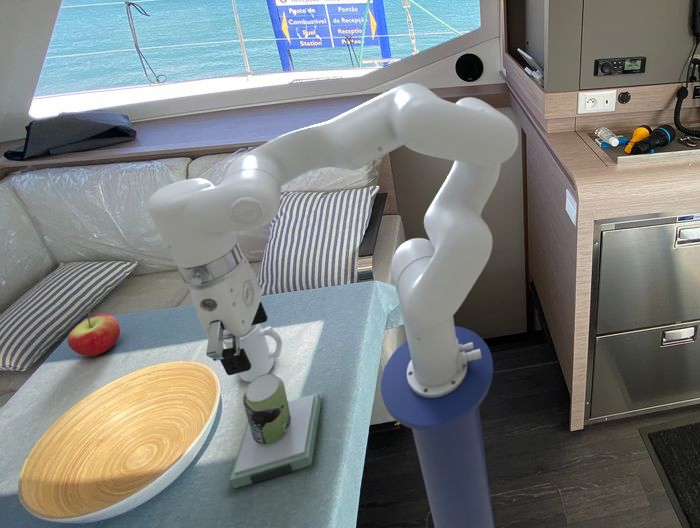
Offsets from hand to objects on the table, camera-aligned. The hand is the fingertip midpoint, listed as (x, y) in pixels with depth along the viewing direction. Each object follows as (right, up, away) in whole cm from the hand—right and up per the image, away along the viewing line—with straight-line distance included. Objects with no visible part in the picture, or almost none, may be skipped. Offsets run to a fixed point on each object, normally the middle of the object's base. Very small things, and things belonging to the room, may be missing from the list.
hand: (249, 345), depth 67 cm
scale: (+1, -22, +8) cm, 23 cm away
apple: (-53, -15, +30) cm, 63 cm away
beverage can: (0, -19, +7) cm, 20 cm away
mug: (-11, -16, +23) cm, 30 cm away
